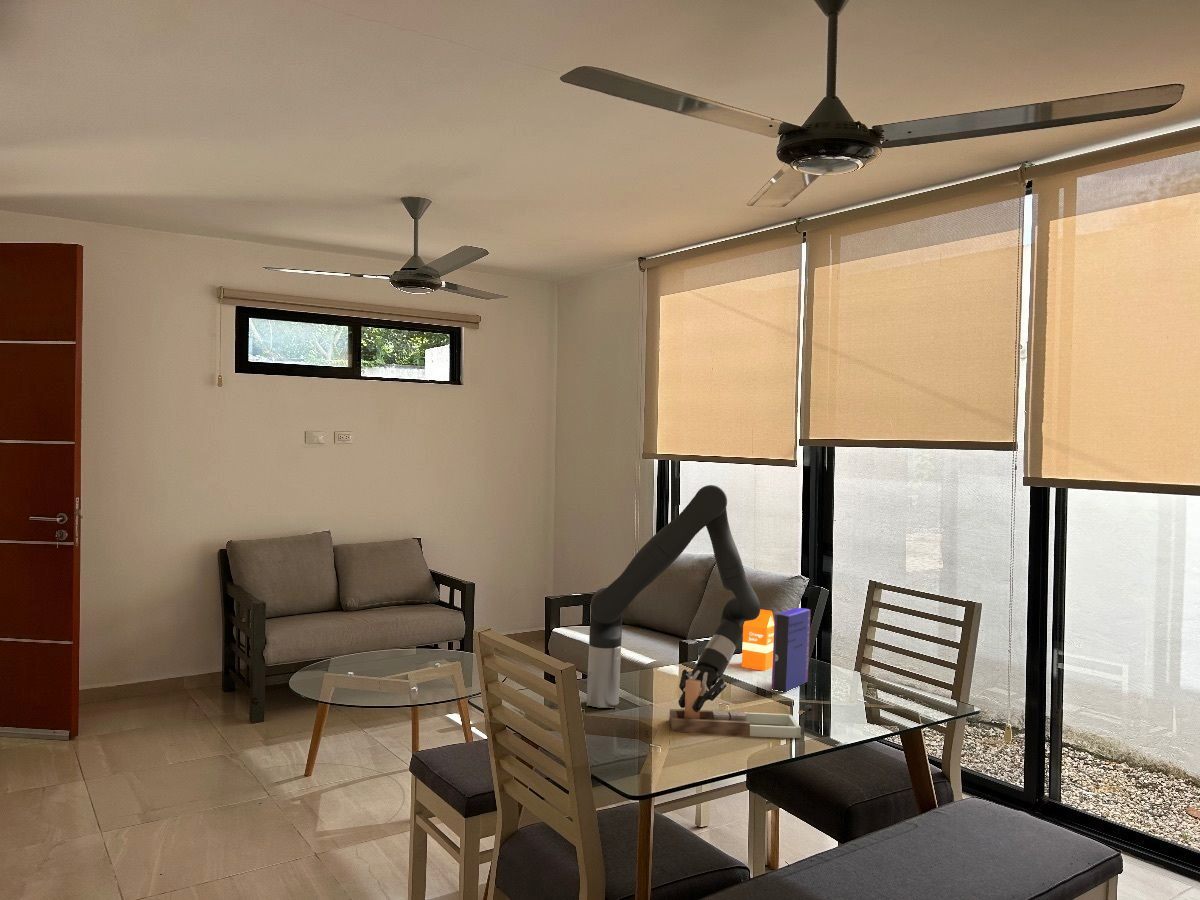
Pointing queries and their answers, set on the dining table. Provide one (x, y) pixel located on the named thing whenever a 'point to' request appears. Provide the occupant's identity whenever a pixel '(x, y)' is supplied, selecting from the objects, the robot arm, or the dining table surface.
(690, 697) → the orange rounded cylinder
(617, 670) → the robot arm
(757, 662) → the orange juice
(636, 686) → the dining table surface
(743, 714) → the gray cube
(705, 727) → the slot board
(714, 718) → the light grey cube
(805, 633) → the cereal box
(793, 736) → the tray
